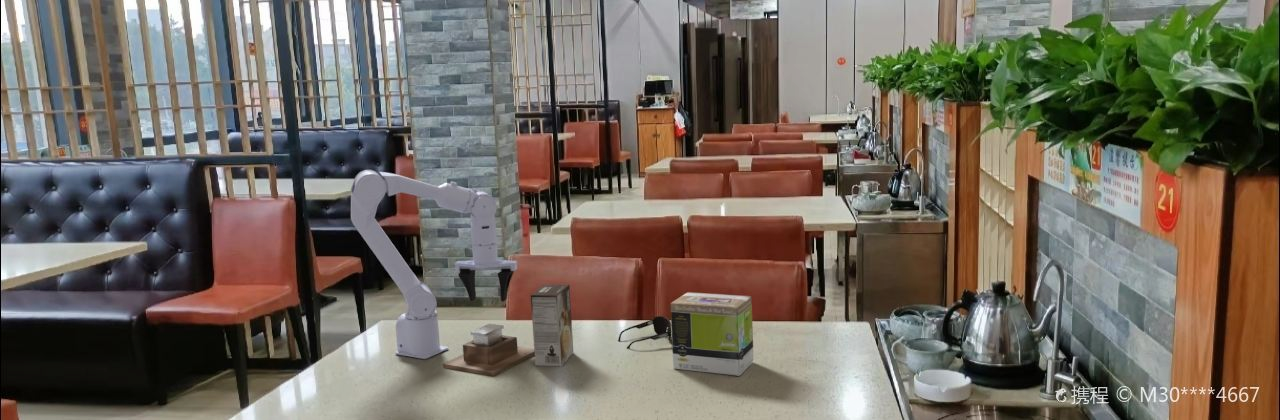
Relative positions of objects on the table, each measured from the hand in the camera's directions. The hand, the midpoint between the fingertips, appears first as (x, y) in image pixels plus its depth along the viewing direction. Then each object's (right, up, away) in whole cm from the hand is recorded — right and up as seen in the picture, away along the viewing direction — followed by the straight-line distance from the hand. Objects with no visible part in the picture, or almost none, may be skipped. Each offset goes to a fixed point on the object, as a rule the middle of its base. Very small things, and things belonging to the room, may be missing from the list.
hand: (488, 299), depth 204 cm
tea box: (+51, -12, -20) cm, 56 cm away
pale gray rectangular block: (+2, -12, -11) cm, 16 cm away
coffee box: (+17, -12, -12) cm, 24 cm away
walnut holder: (+3, -12, -11) cm, 16 cm away
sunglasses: (+37, -10, -2) cm, 38 cm away
